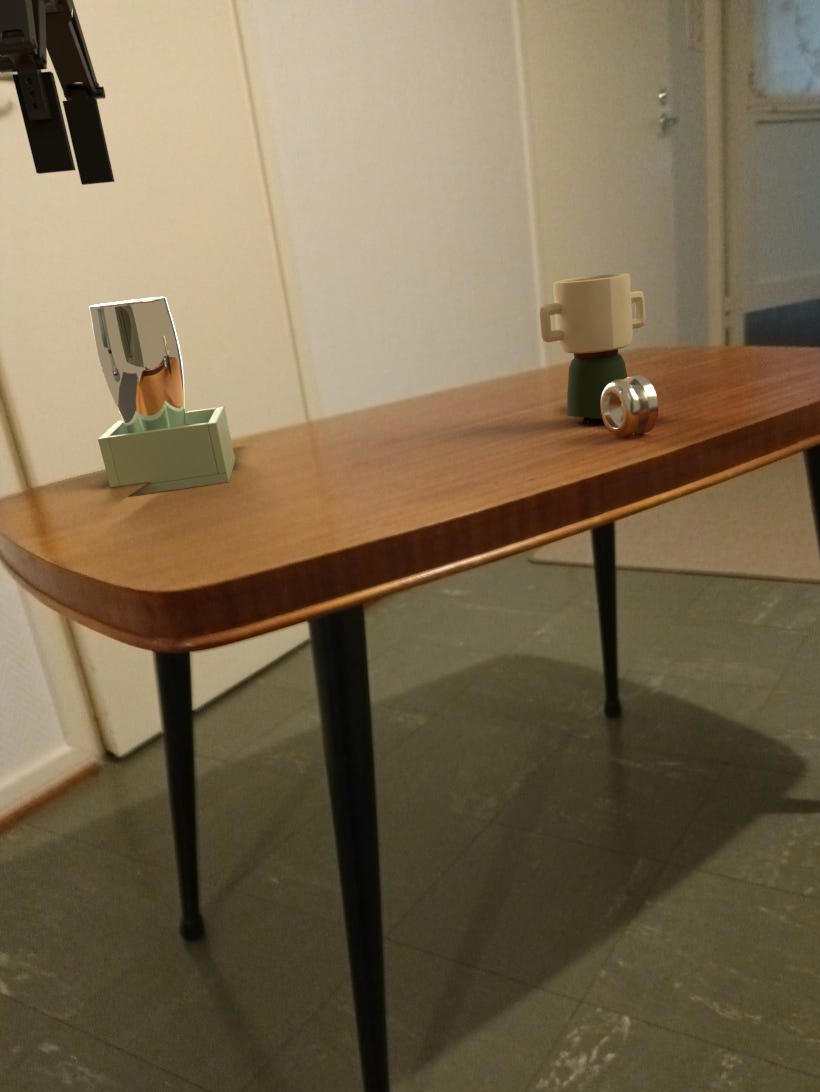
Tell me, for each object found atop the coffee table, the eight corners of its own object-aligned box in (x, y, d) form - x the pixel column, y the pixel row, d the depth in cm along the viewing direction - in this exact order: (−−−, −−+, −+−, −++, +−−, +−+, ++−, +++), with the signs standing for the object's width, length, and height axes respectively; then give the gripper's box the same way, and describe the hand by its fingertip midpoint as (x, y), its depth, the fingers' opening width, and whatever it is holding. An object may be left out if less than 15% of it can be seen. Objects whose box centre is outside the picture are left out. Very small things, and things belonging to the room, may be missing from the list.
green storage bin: (113, 499, 86) (97, 438, 84) (130, 475, 96) (117, 420, 94) (229, 482, 87) (216, 422, 85) (235, 460, 97) (224, 406, 95)
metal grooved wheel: (659, 436, 85) (657, 377, 83) (631, 442, 84) (627, 382, 82) (626, 429, 89) (623, 373, 87) (599, 435, 88) (595, 378, 86)
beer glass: (111, 479, 90) (68, 308, 84) (167, 461, 96) (130, 300, 90) (166, 481, 87) (125, 303, 81) (220, 462, 92) (185, 294, 87)
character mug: (631, 406, 100) (624, 270, 95) (668, 414, 94) (663, 270, 89) (533, 424, 97) (521, 285, 92) (566, 434, 90) (554, 285, 85)
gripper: (3, -215, 61) (88, 160, 69) (97, -88, 84) (152, 182, 92) (-121, -207, 61) (-21, 171, 69) (7, -81, 84) (71, 191, 92)
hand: (79, 178), depth 81 cm, fingers open, 13 cm apart
